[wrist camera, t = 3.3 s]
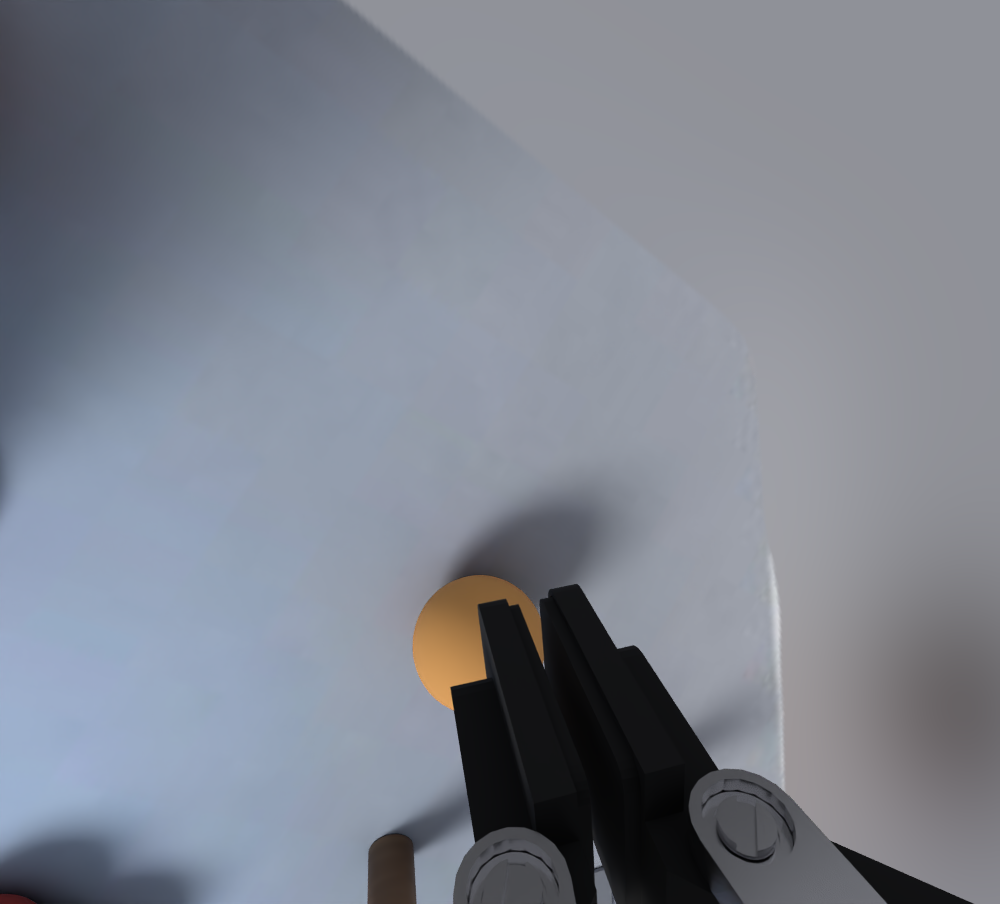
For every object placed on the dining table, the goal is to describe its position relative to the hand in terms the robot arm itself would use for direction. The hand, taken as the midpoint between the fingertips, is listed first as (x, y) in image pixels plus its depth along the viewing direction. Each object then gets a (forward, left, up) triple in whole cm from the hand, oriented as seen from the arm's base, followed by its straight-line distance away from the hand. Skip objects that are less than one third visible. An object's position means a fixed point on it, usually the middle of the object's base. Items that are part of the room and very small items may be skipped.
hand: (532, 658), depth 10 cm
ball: (+9, 0, -12) cm, 15 cm away
